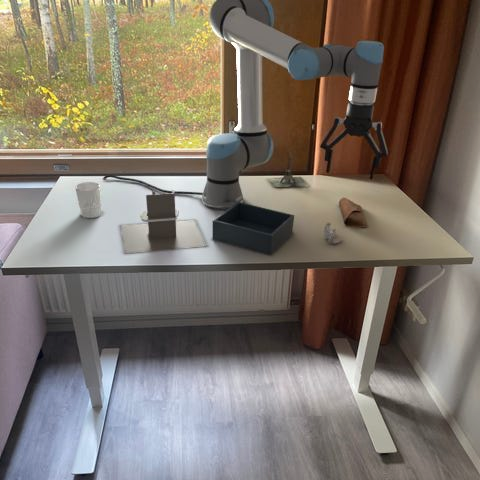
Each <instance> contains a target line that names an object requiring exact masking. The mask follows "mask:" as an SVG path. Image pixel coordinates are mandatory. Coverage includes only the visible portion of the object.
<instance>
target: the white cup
mask: <svg viewBox="0 0 480 480" xmlns="http://www.w3.org/2000/svg"><path fill="white" fill-rule="evenodd" d="M74 188H75V193H76V197H77V201H78V206H79V209H80V215H81V217H83V218H87V219H94V218H98V217H100V216H102V197H101V186H100V184H99V183H98V182H93V181H85V182H81V183H78V184H76V185H75V186H74Z"/></svg>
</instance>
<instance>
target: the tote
mask: <svg viewBox="0 0 480 480" xmlns="http://www.w3.org/2000/svg"><path fill="white" fill-rule="evenodd" d="M294 222H295V214H291V213H287V212H283V211H278V210H274V209H271V208H266V207H262V206H257V205H253V204H250V203H246V202H243V203H241V202H237V203H236V204H235V205H233V206H232V207H231V208H229V209H225V211H223V212H222V213H220V214H219V215H218V216H217V217H215V218H214V219H213V220H212V240H214V241H216V242H221V243H225V244H227V245H232V246H235V247H239V248H243V249H246V250H250V251H253V252H258V253H261V254H265V255H268V256H271V255H272V254H273V253H274V252H276V250H277V249H279V247H281V245H283V244H284V243H285V242H286V241H287V239H289V237H291V236H292V235H293V232H294V231H293V230H294Z"/></svg>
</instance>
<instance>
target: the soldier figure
mask: <svg viewBox="0 0 480 480" xmlns="http://www.w3.org/2000/svg"><path fill="white" fill-rule="evenodd" d="M331 225H332V222H329V221H327V222H326V224H325V226H324V228H323V234H324V237H325V238H324V240H325V241H326V242H327V243H328V245H330V244H333V245H337V244H339V243H341V242H343V238H340V239H338V240H335V236H336V228H333V229H332V230H331V227H330V226H331Z"/></svg>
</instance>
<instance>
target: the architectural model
mask: <svg viewBox="0 0 480 480" xmlns="http://www.w3.org/2000/svg"><path fill="white" fill-rule="evenodd" d="M171 191H172V193H156V189H154V190H152V191H151V194H146V195H145V199H146V211H143V212H141V213H140V219H141V222H144V223H140V224H139V223H137V224H126V225H120V231H121V232H120V233H121V238H122V243H123V248H124V253H125V254H135V253H136V254H137V253H146V252H147V253H148V252H156V251H169V250H177V249H178V250H180V249H189V248H190V249H191V248H200V247H207V244H206V243H205V240H204V238H203V236H202V233H201V231H200V229H199V227H198V224H197V222H196V221H195V219H189V220H178V221H177V219H178V218H179V214H180V211H179V210H177V209H176V196H175V195H176V194H175V193H174V191H175V190H173V189H172V190H171Z"/></svg>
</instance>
